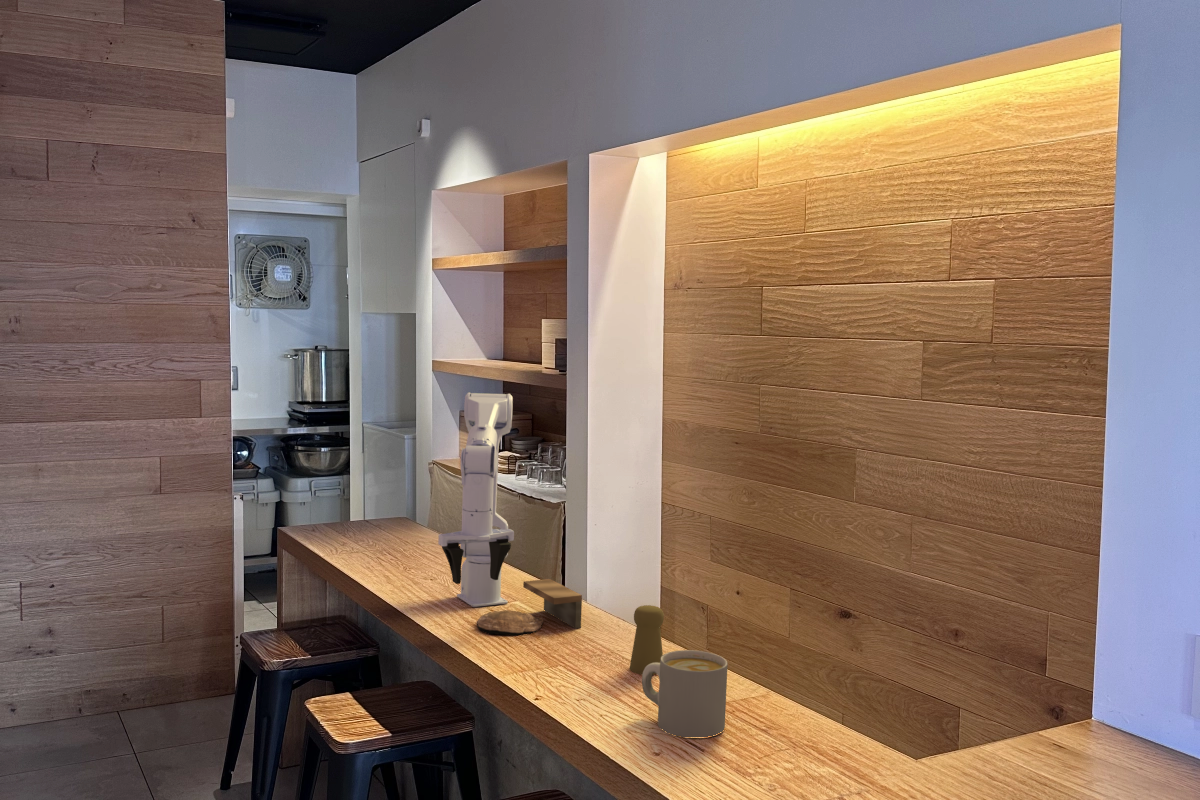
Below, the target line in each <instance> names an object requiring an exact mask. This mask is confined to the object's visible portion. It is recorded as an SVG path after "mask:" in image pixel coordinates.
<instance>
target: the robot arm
mask: <svg viewBox="0 0 1200 800" xmlns="http://www.w3.org/2000/svg"><path fill="white" fill-rule="evenodd" d="M513 399H514V398H513V396H512V395H511V393H506V394H505V393H481V392H480V393H479V392H478V393H477V392H472V393H471V392H467V393H466V394H465V396H464V406H463V407H464V408H463V413H464V414H463V416H464V420H465V421H464V422H465V426H466V428H467V432H468V434H467V439H466V443H465V448H464V447H462V448H461V451H460V467H459V468H460V472H461V473H460V475H461V486H462V497H461V498H462V504H461V506H462V507H461V530H458V531H454V532H447V533H439V534H438V543H437V544H438V546H441V549H442V550H443V553H444V554H445V558H446V559H447V562H448V565H449V568H450V569H449V570H450V572H451V576H452V582H453V583H454V584H456V585H460V593H457V594H456V597H457V598H458V599H460V600H461V601H463V602H465V603H466V604H468V605H469V606H470V607H473V608H476V607H486V606H495V605H496V606H497V605H505V604H508V600H507V599H505V598H504V597H502V596H501V595H502V594H501V593H502V587H501V586H502V568H503V567H502V566H503V563H504V561H505V559H506V558H507V557H508V556H509V552H510V550H511V549H512V544H511V543H512V541H515V531H514V530H513V529H511V528H509V524H508V521H507V520H506V519H504V517H502V516H501V514H499V513H497V498H498V493H497V492H498V472H499V471H498V470H499V468H498V467H499V446H500V442H501V440H502V438H503V436H505V435H506V434H509V433H510V432H511V429H512V422H513V403H514V401H513ZM493 527H497V528H493ZM463 558H465V560H464V562H463ZM462 562H463V563H462Z"/></svg>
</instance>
